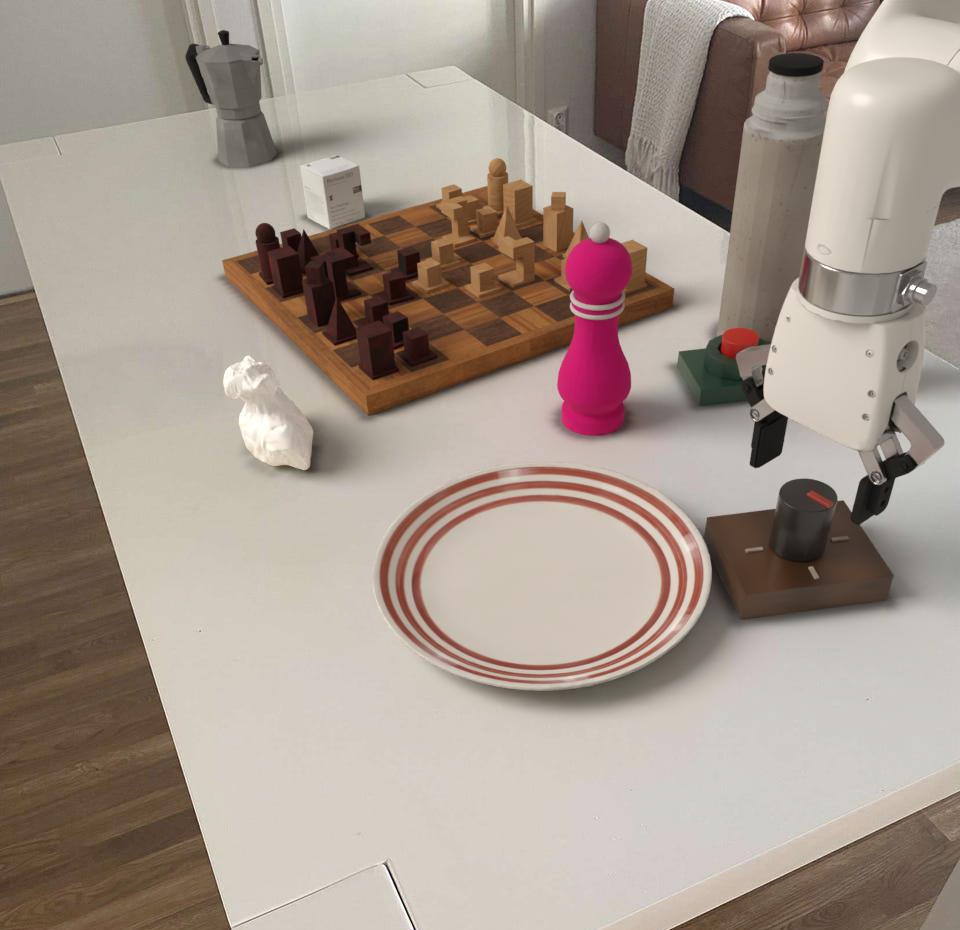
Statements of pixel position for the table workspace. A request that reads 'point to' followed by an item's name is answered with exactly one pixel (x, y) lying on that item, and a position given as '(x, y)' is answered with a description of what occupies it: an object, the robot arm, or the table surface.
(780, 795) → the table surface
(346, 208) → the white cardboard box
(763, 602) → the panel
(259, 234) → the gameboard
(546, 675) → the dinner plate
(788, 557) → the knob
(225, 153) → the coffeepot
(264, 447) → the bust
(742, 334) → the button
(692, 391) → the housing
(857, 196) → the robot arm
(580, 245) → the pepper mill
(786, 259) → the thermos bottle
